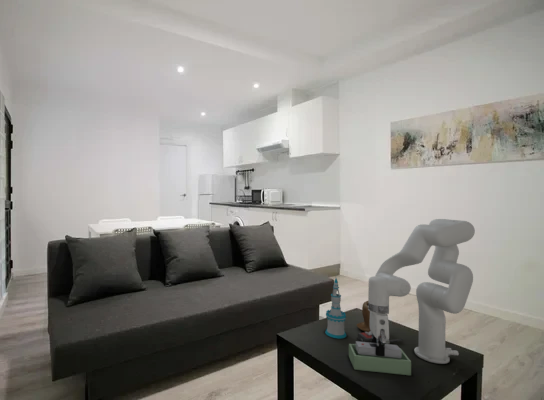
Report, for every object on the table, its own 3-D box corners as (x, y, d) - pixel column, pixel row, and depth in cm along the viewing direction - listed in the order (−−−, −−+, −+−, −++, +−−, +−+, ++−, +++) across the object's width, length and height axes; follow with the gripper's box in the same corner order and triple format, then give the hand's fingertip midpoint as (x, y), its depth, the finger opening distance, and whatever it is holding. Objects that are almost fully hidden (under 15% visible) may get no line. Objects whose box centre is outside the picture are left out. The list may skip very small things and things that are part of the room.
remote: (396, 352, 122) (397, 344, 122) (401, 358, 117) (401, 350, 117) (355, 348, 125) (355, 340, 125) (358, 354, 120) (358, 346, 120)
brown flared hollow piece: (371, 337, 145) (371, 307, 145) (353, 327, 156) (353, 299, 156) (394, 333, 150) (394, 303, 149) (375, 323, 161) (376, 296, 161)
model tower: (337, 328, 155) (337, 271, 155) (350, 337, 145) (351, 276, 145) (321, 330, 152) (321, 272, 152) (333, 339, 143) (334, 277, 142)
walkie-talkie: (366, 347, 135) (404, 343, 139) (366, 338, 135) (404, 334, 139) (354, 338, 144) (390, 335, 148) (354, 329, 144) (390, 326, 147)
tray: (400, 361, 124) (400, 348, 124) (411, 375, 114) (411, 361, 114) (348, 356, 128) (348, 343, 128) (354, 369, 118) (354, 355, 118)
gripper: (396, 316, 112) (395, 364, 112) (381, 301, 128) (380, 343, 129) (375, 315, 113) (374, 362, 113) (363, 300, 130) (362, 341, 130)
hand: (377, 351), depth 121 cm, fingers closed on remote, 4 cm apart
